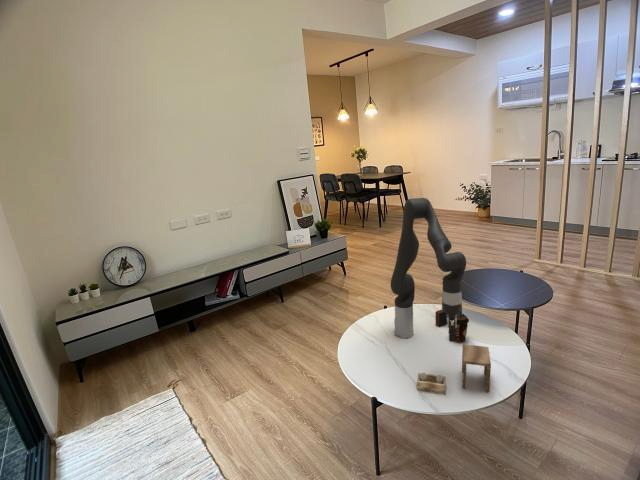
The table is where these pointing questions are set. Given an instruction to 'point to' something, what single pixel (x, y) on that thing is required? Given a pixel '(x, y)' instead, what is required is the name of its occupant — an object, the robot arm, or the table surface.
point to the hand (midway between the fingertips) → (451, 335)
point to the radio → (441, 318)
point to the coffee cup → (461, 328)
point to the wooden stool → (476, 361)
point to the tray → (431, 383)
